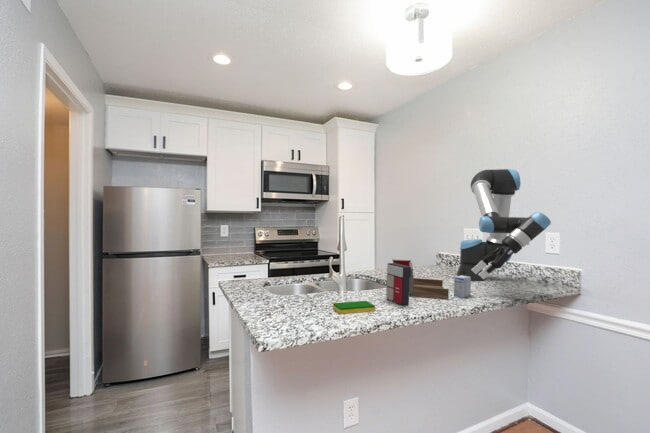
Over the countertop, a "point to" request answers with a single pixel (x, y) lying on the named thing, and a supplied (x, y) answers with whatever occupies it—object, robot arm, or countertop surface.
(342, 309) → the dish sponge
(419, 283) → the wooden tray
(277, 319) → the countertop surface
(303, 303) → the countertop surface
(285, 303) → the countertop surface
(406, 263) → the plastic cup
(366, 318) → the countertop surface
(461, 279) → the medicine box
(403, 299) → the grey and red box
